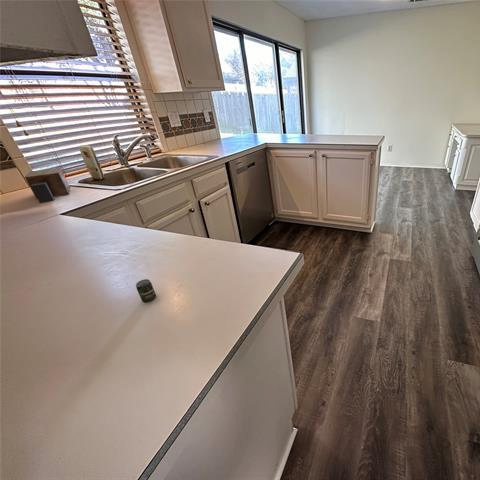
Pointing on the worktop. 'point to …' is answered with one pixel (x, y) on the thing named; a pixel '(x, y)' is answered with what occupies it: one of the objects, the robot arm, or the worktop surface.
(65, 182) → the brown wooden stand
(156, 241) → the worktop surface
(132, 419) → the worktop surface
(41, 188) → the holder
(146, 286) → the beer can
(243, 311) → the worktop surface
